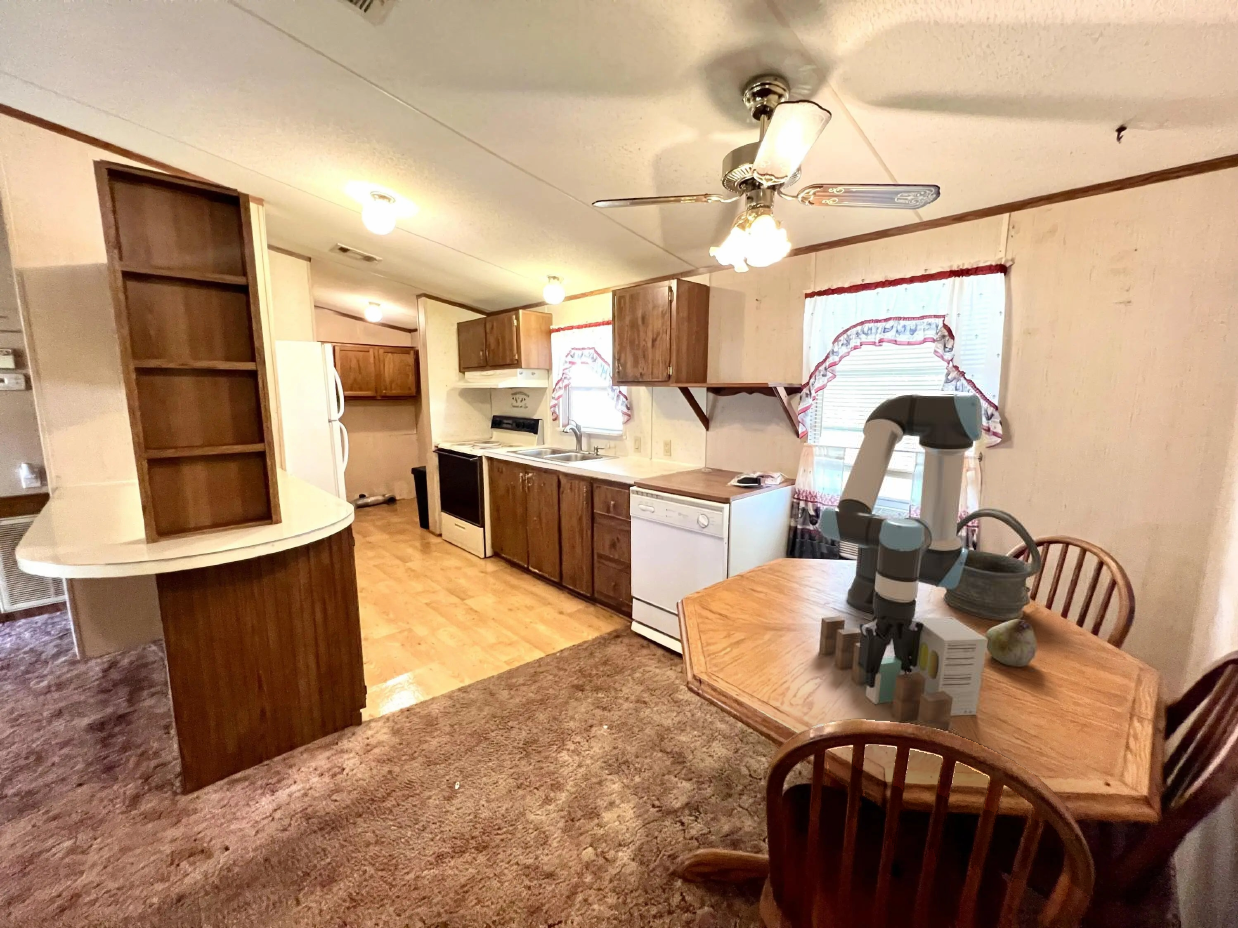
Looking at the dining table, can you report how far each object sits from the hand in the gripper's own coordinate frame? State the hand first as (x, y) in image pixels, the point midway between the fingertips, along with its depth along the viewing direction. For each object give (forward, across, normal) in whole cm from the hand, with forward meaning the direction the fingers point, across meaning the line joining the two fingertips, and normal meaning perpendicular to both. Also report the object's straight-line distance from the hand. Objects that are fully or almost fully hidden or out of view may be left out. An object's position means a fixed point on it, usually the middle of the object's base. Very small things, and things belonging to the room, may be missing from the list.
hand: (883, 697), depth 101 cm
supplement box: (0, -11, +3) cm, 11 cm away
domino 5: (0, 0, +12) cm, 12 cm away
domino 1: (0, 0, -18) cm, 18 cm away
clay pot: (0, -61, -32) cm, 69 cm away
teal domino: (0, 0, 0) cm, 0 cm away
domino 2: (0, 0, -12) cm, 12 cm away
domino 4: (0, 0, +6) cm, 6 cm away
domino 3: (0, 0, -6) cm, 6 cm away
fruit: (0, -40, -6) cm, 40 cm away
